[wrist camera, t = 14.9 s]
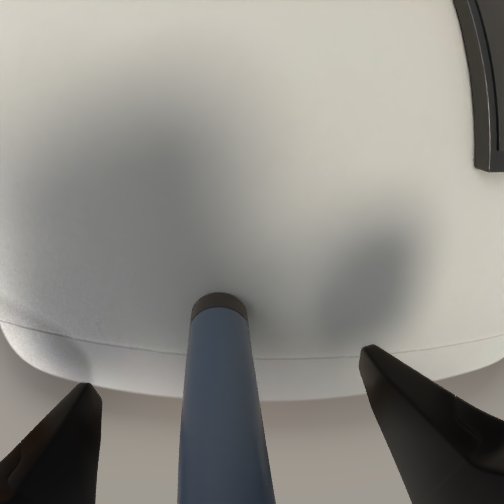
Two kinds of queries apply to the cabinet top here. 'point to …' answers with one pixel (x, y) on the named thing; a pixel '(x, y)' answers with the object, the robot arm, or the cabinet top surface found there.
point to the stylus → (221, 411)
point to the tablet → (486, 77)
